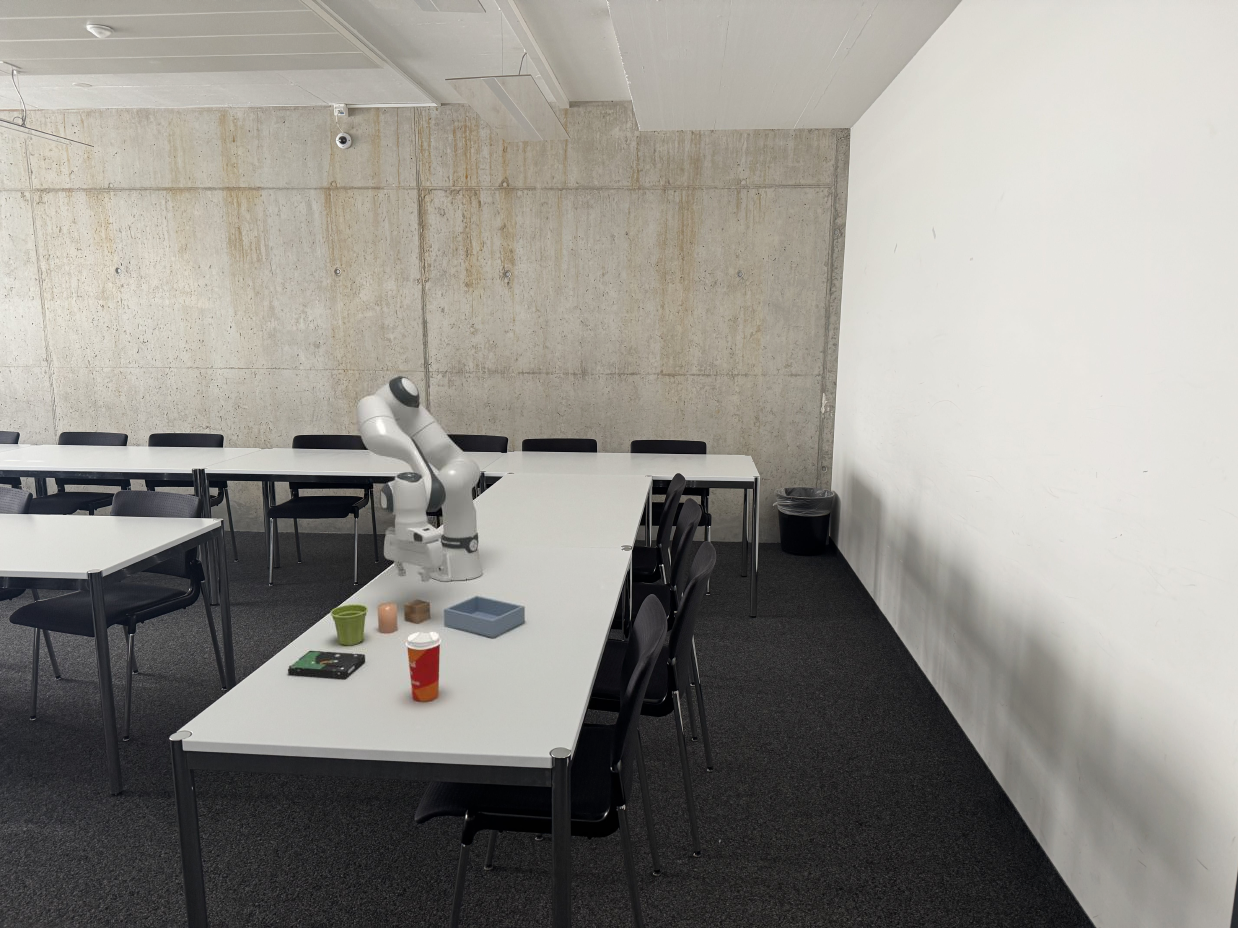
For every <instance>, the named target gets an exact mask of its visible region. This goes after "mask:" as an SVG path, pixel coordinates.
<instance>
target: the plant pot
mask: <svg viewBox="0 0 1238 928" xmlns="http://www.w3.org/2000/svg"><path fill="white" fill-rule="evenodd" d="M368 611H369V608H368V607H367V606H366V605H365V604H347V605H342V606H341V605H340V606H337V607H335V608H333V609H332V610H331V611H330V613H329V614H330V616H331V617H332V619H333V622H334V625H335V630H336V635H337V640H338V643H339V644H340V645H341V646H342V645H345V646H355V645H358V644H359V643H360V642H363V641H364V635H365V626H366V625H365V623H366V617H367V612H368Z"/></svg>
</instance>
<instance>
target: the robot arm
mask: <svg viewBox="0 0 1238 928" xmlns="http://www.w3.org/2000/svg"><path fill="white" fill-rule="evenodd" d="M420 402H421V401H420V391H419V388H418V387H417V386H416V384H415V382H413V380H411V379H409V378H408V377H405V376H402V375H398V376H395V377H394V378H392V379H390V380H389V381H388V382H387V383H386V384H385V385H382V386H381V387H380V388H378V389H377V390H376V391H374V394H373V395H367V396H365V397H362V398H361V400H359V401H358V403H357V405H356V421H357V425H358V427H357V428H358V431H359V433H360V438H361V440H362V443H363V444H364V446H365V448H366V449H367V450H369V452H371V453H372V454H375V455H378V456H380V457H386V458H391V459H397V460H400V461H403V462H404V463H406V464H408V465H409V467H410V468H411V470H412V471H405V472H400V473H398V474H396V476H395V477H394V480H392V481H389V482H386V483H385V484H384V485H383V486H382V487H381V488H380V490H379V502H380V508H381V509H382V510H383V511H384V512H386V513H387V514H388V515H395V517H394V518H395V519H394V526H395V527H393V526H390V527H388V528H387V529H386V530H385V537H384V545H383V556H384V558H385V559H386V560H388V561H389V560H390V561H393V563H394V566H395V568H396V571H397V576H398V577H404V576H406V575H407V573H406V571H407V569H406V568H405V569H404V566H403V563H404V564H407V565H413V566H418V567H420V568H419V569H418V570H417V573H418V574H420V578H421V582H424V583H429V581H430V579H434V580H437V581H440V582H450V581H451V580H452V581H465V580H466V579H467V580H472V579H476V578H478V577H481V576H482V575H483V573H484V572H483V569H482V565H481V560H480V553H479V534H478V531H477V530H478V529H477V527H478V526H477V509H476V507H475V504H474V499H473V493H472V490H473V488H474V487H476V485H477V484H478V482H479V480H480V476H481V469H480V466H479V464H478V463H477V462H476V461H474V460H473V459H471V458H470V457H469V456H468V455H467V454H466V453H465V451H463V450H462V449H461V448H460V447H459V446H458V445H457V444H455V442H454V441H453V440H452V439H451V438H450V437H449V436H448V435H447V433H446V432H445V430H444V429H443V428H442V427H441V425H440V424H439V423H438V422H437V420H436V419H435V418H434V416H433V415H432V414H431V413H430V412H429V411H428V410H427V409H426V408H425V407H424V405H422V404H421V403H420ZM431 466H432V467H433V468H435V470H437V471H438V473H437V474H436V473H435V472H434V470H433V468H432V467H431ZM440 508H441V510H442V512H441V513H442V524H443V525H442V526H443V527H442V530H443V533H442V532H441V531H440V530H439V529H437V528H435V527H434V526H432V525H431V524H430V523H429V522H428V521H429V520H428V516H427V513H428V512H438V510H440ZM467 580H466V581H467Z"/></svg>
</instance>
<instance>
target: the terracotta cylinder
mask: <svg viewBox="0 0 1238 928" xmlns="http://www.w3.org/2000/svg"><path fill="white" fill-rule="evenodd" d="M397 608H398V605H397V603H394V602H384V603H380V604H378V605H377V623H378V625H377V626H378V633H379V634H384V635H385V634H394V633H395V632H397V631H398V629H399V628H398V609H397Z"/></svg>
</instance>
